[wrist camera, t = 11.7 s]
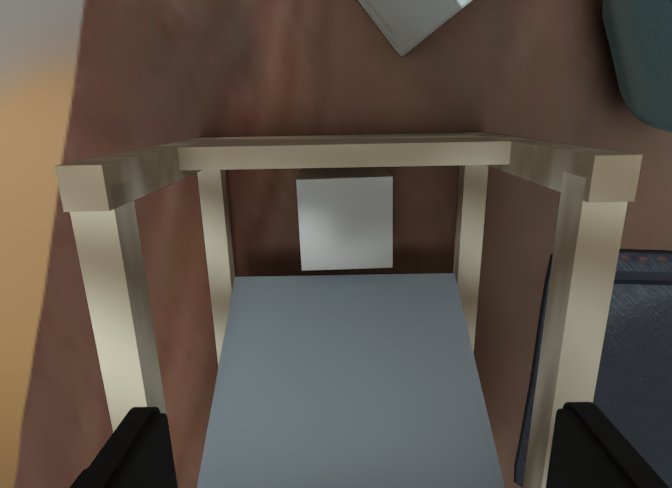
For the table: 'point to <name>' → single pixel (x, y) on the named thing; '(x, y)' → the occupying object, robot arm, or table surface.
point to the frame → (356, 151)
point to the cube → (345, 218)
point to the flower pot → (642, 56)
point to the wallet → (628, 360)
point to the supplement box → (410, 19)
